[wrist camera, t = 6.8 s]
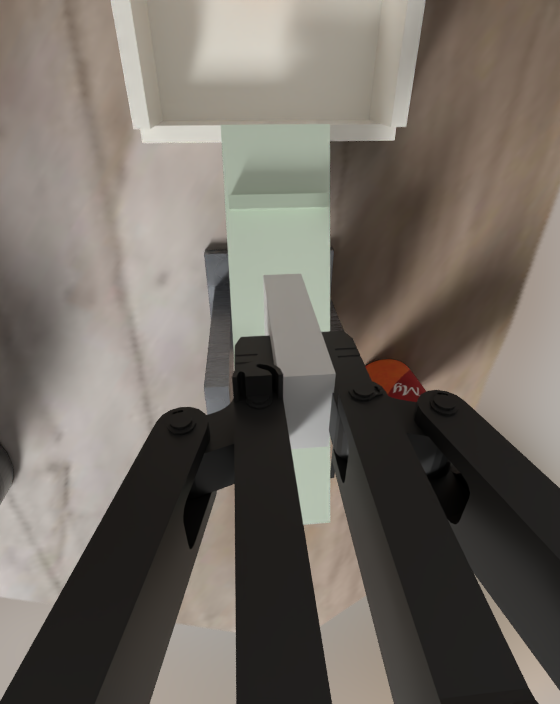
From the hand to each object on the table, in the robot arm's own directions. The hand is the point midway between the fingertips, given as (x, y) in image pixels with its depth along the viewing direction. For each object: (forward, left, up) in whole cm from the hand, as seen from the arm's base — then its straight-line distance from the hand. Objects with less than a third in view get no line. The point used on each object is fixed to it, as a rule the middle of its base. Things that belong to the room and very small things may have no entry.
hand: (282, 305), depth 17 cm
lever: (0, -6, -9) cm, 11 cm away
